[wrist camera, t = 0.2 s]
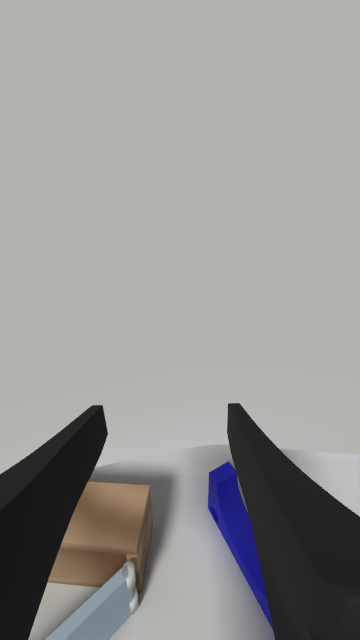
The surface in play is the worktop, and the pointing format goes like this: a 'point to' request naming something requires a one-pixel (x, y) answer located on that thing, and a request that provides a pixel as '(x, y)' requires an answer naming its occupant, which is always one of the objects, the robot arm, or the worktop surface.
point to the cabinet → (105, 535)
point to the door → (102, 609)
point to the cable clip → (236, 528)
